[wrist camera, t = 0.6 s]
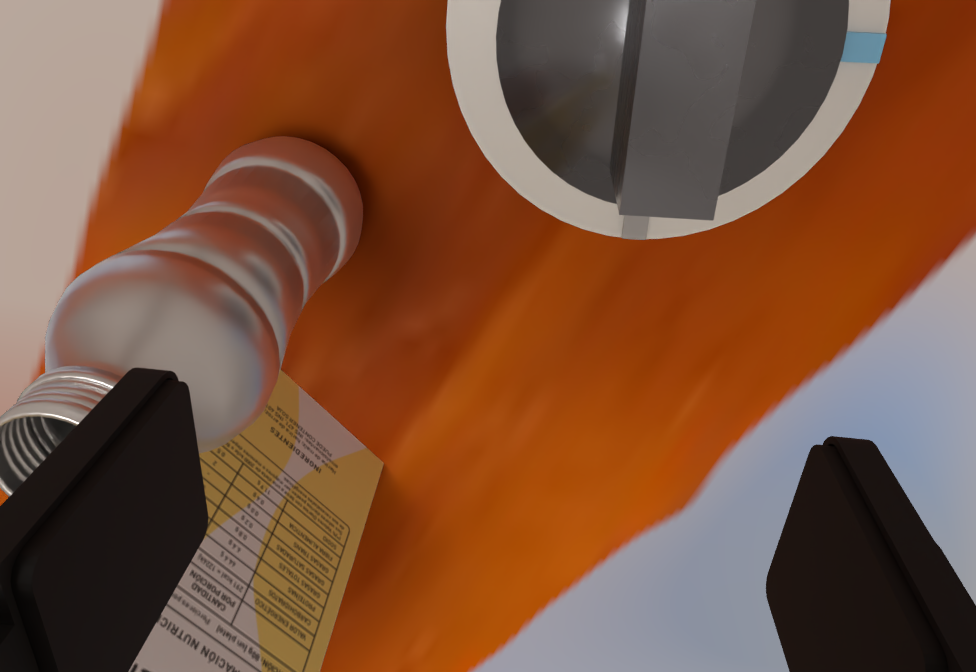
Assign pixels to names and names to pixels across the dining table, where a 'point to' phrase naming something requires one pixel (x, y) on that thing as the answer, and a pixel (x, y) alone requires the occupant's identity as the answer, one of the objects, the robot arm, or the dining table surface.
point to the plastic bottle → (196, 301)
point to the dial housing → (531, 178)
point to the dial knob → (666, 91)
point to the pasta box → (269, 545)
